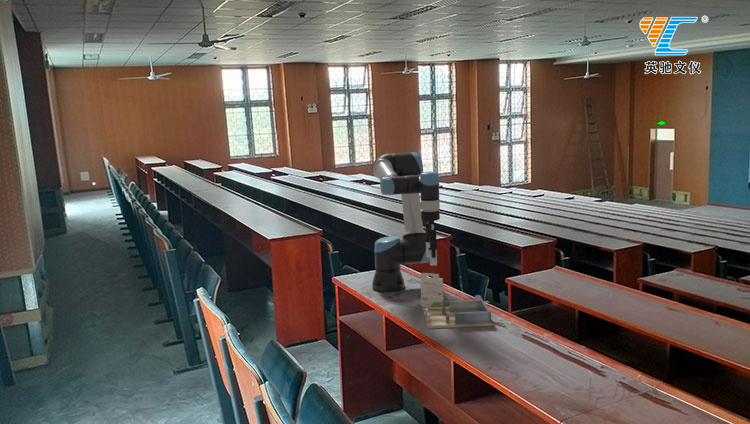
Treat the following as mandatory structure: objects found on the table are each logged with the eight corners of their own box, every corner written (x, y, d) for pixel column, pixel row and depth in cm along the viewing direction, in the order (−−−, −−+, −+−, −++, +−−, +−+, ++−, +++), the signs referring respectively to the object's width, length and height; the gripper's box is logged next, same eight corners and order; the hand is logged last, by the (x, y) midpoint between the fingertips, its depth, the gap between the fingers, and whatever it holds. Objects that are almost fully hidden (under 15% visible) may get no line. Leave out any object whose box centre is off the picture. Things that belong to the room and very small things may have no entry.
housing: (447, 306, 239) (446, 296, 239) (479, 304, 240) (479, 295, 239) (455, 324, 219) (455, 313, 218) (491, 322, 219) (491, 312, 218)
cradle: (422, 310, 239) (422, 300, 239) (481, 307, 240) (481, 298, 239) (428, 328, 219) (428, 318, 218) (492, 325, 219) (492, 315, 218)
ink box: (444, 305, 244) (443, 271, 242) (440, 309, 240) (439, 274, 237) (424, 303, 248) (423, 269, 246) (420, 307, 244) (419, 272, 241)
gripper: (418, 206, 250) (419, 254, 253) (424, 215, 225) (425, 269, 228) (435, 205, 250) (436, 253, 253) (443, 214, 225) (444, 268, 228)
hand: (431, 261), depth 241 cm, fingers open, 13 cm apart
